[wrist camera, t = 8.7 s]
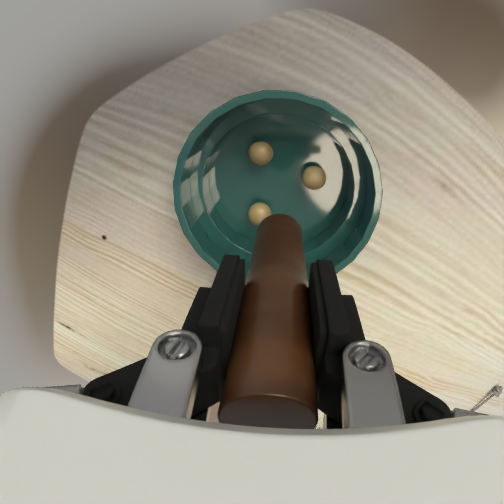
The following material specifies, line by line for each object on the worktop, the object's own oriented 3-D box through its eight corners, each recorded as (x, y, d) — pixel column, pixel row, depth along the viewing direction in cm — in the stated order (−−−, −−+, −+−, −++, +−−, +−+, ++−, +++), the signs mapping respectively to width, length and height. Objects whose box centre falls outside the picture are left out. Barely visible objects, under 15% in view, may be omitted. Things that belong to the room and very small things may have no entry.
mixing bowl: (160, 179, 27) (135, 196, 22) (281, 58, 22) (281, 46, 17) (273, 285, 31) (271, 319, 26) (395, 189, 26) (418, 209, 21)
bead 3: (296, 174, 25) (297, 179, 24) (313, 158, 25) (316, 163, 23) (311, 191, 26) (314, 197, 24) (329, 176, 25) (332, 181, 23)
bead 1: (244, 151, 25) (241, 154, 23) (261, 134, 24) (260, 137, 22) (261, 167, 25) (259, 172, 24) (278, 152, 25) (278, 155, 23)
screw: (499, 381, 37) (505, 388, 36) (458, 414, 43) (463, 421, 42) (498, 386, 36) (503, 393, 35) (455, 419, 42) (461, 426, 41)
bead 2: (244, 209, 27) (241, 217, 26) (260, 194, 27) (259, 201, 25) (260, 225, 28) (258, 233, 26) (276, 210, 27) (276, 219, 25)
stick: (247, 233, 16) (196, 415, 7) (280, 204, 15) (271, 380, 6) (277, 263, 17) (264, 452, 7) (311, 236, 16) (337, 424, 6)
